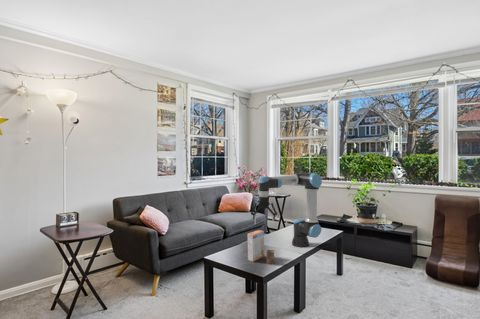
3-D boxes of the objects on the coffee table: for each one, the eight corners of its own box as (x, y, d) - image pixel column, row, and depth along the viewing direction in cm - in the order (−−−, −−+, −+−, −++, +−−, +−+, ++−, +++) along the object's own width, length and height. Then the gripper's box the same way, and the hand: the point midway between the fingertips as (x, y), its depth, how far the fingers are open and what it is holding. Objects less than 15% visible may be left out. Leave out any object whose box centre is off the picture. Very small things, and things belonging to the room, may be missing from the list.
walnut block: (274, 262, 220) (274, 250, 220) (273, 264, 215) (273, 252, 215) (267, 261, 221) (267, 249, 221) (266, 263, 217) (266, 251, 216)
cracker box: (258, 255, 234) (258, 229, 234) (264, 257, 230) (264, 230, 230) (247, 260, 224) (247, 233, 224) (253, 262, 220) (253, 234, 220)
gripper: (280, 195, 228) (280, 223, 228) (248, 195, 231) (248, 222, 231) (280, 197, 221) (280, 225, 221) (247, 196, 223) (247, 224, 223)
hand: (264, 223), depth 226 cm, fingers open, 13 cm apart
